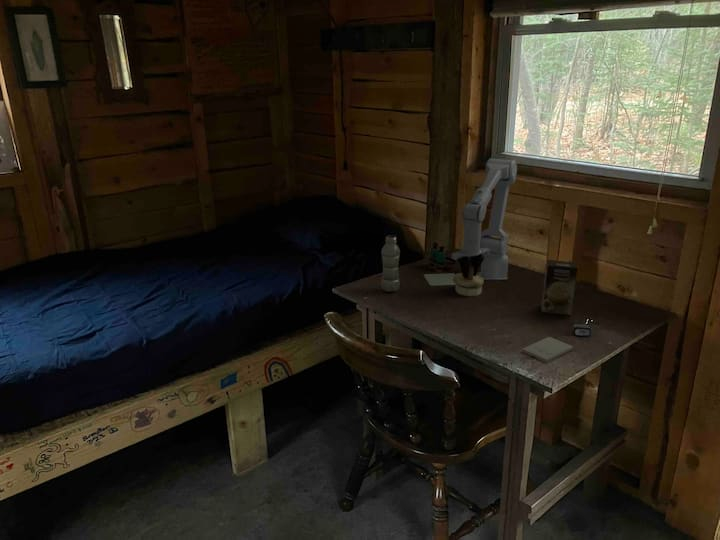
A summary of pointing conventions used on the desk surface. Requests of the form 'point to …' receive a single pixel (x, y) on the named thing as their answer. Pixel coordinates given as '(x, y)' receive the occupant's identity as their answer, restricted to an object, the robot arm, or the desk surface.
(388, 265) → the plastic bottle
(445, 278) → the mat
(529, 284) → the desk surface
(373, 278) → the desk surface
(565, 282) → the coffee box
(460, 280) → the lid
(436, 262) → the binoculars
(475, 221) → the robot arm
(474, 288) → the bowl
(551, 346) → the external hard drive
